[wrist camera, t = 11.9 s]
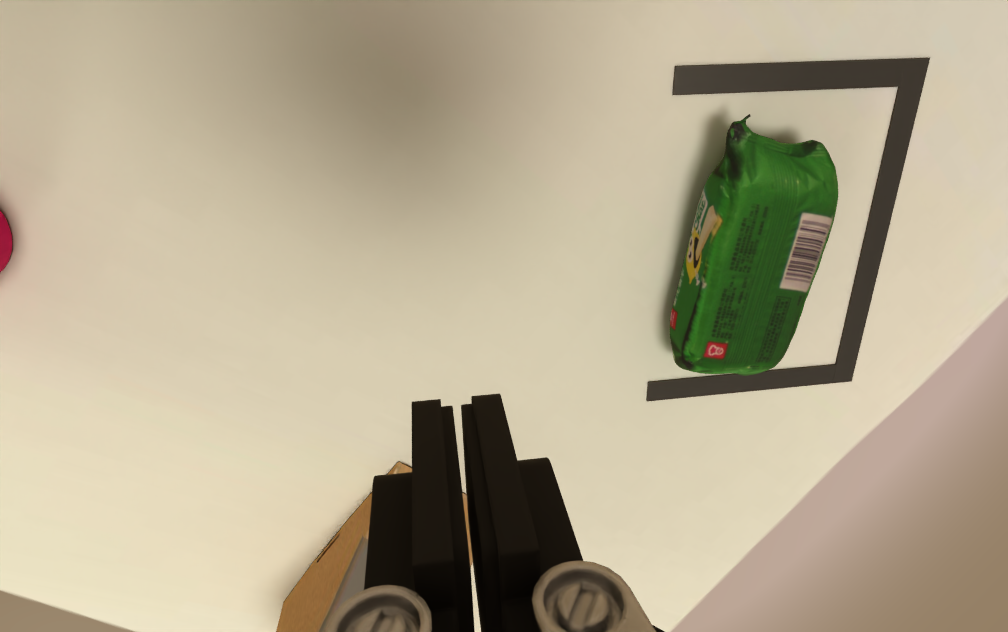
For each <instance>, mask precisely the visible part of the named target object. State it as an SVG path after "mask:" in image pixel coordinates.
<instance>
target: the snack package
mask: <svg viewBox="0 0 1008 632" xmlns="http://www.w3.org/2000/svg"><path fill="white" fill-rule="evenodd" d="M749 117H750V114H749V115H748V116H746V117H745V118H744V119H743V120H741V121H737V122H733V123H732V124H731V126H730V128H729V130H728V132H727V139H726V149H725V153H724V156H723V158H722V160H721V162H720V163H719V164H718V166H717V167H716V168H715V170H714V171H713V172H712V173H711V175H710V176H709V178H708V180H707V182H706V184H705V186H704V188H703V192H702V195H701V198H700V201H699V203H698V206H697V211H696V216H695V220H694V224H693V228H692V232H691V236H690V240H689V243H688V247H687V251H686V255H685V259H684V263H683V267H682V272H681V276H680V280H679V284H678V287H677V292H676V296H675V300H674V304H673V307H672V311H671V317H670V338H671V344H672V350H673V357H674V360H675V363H676V364H677V365H678V366H679V367H680V368H682V369H685V370H689V371H693V372H698V373H705V374H725V373H737V374H739V375H743V376H749V375H753V374H758V373H761V372H764V371H767V370H769V369H771V368H773V367H775V366H776V365H777V364H778V363H779V362H780V361H781V359H782V358H783V356H784V355H785V353H786V351H787V349H788V347H789V344H790V342H791V340H792V338H793V336H794V334H795V331H796V328H797V325H798V322H799V319H800V316H801V313H802V311H803V307H804V303H805V300H806V298H807V295H808V293H809V290H810V288H811V285H812V282H813V280H814V277H815V275H816V272H817V270H818V268H819V264H820V261H821V258H822V254H823V251H824V249H825V246H826V243H827V241H828V238H829V234H830V231H831V228H832V225H833V221H834V217H835V212H836V207H837V200H838V183H837V175H836V169H835V166H834V164H833V162H832V159H831V157H830V155H829V153H828V151H827V149H826V148H825V147H824V145H823V144H822V143H820V142H818V141H815V140H810V141H806V142H802V143H780V142H777V141H775V140H773V139H770V138H767V137H764V136H761V135H758V134H756V133H754V132H752V131H751V130H750V129H749V128H748V127H747V125H746V119H747V118H749Z"/></svg>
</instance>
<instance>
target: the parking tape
mask: <svg viewBox="0 0 1008 632" xmlns="http://www.w3.org/2000/svg"><path fill="white" fill-rule="evenodd" d="M929 60H930V58H909V59H878V60H847V61H816V62H785V63H754V64H723V65H692V66H675V72H674V84H673V95H689V94H716V93H742V92H768V91H795V90H821V89H847V88H874V87H898V92H897V96H896V101H895V105H894V109H893V114H892V118H891V123H890V127H889V131H888V136H887V140H886V145H885V149H884V153H883V158H882V162H881V167H880V171H879V175H878V180H877V184H876V189H875V193H874V197H873V202H872V206H871V211H870V215H869V219H868V224H867V228H866V233H865V237H864V241H863V246H862V250H861V255H860V259H859V263H858V268H857V272H856V277H855V281H854V285H853V290H852V294H851V298H850V303H849V307H848V312H847V316H846V320H845V325H844V329H843V334H842V338H841V342H840V347H839V351H838V356H837V360H836V364H833V365H823V366H812V367H801V368H791V369H780V370H769V371H764V372H761V373H758V374H753V375H749V376H743V375H739V374H727V375H716V376H706V377H695V378H684V379H674V380H663V381H653V382H648V390H647V401H655V400H665V399H675V398H686V397H696V396H706V395H716V394H727V393H737V392H747V391H757V390H767V389H778V388H788V387H798V386H808V385H818V384H829V383H839V382H849V381H852V377H853V373H854V369H855V364H856V360H857V356H858V352H859V348H860V344H861V340H862V336H863V331H864V327H865V323H866V319H867V315H868V311H869V307H870V303H871V299H872V294H873V290H874V286H875V282H876V278H877V274H878V270H879V266H880V261H881V257H882V253H883V249H884V245H885V241H886V237H887V233H888V229H889V224H890V220H891V216H892V212H893V208H894V204H895V200H896V196H897V191H898V187H899V183H900V179H901V175H902V171H903V167H904V163H905V159H906V154H907V150H908V146H909V142H910V138H911V134H912V130H913V126H914V121H915V117H916V113H917V109H918V105H919V101H920V97H921V93H922V88H923V84H924V80H925V76H926V72H927V68H928V64H929Z"/></svg>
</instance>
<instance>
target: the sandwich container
mask: <svg viewBox="0 0 1008 632" xmlns="http://www.w3.org/2000/svg"><path fill="white" fill-rule="evenodd" d="M407 472H412V468H410V467H408V466H406V465H404V464H402V463H400V462H398V463H397V464H396V465H395V466H394V467H393V468H392V470H391V471H390V472H389V473H388V474H397V473H407ZM388 474H387V475H388ZM462 494H463V503H464V512H465V521H466V529H467V538H468V547H469V558H470V568H471V565H472V562H473V558H472V550H471V542H470V533H469V523H468V509H467V495H465V494H464V493H462ZM371 500H372V493H371V494H370V495H369V496H368V497H367V498H366V500H365V501H364V502H363V503H362V504H361V505H360V507H359V508H358V509H357V510H356V511H355V512H354V513H353V515H352V516H351V517H350V518H349V519H348V520H347V522H346V523H345V524H344V525H343V526H342V528H341V529H340V531H339V532H338V533H337V534H336V536H335V537H334V538H333V539H332V541H331V542H330V543H329V544H328V546H327V547H326V548H325V549H324V550H323V552H322V553H321V554H320V555H319V557H318V558H317V559H315V560H314V562H313V563H312V564H311V566H310V567H309V569H308V570H307V571H306V573H305V574H304V575H303V577H302V578H301V579H300V581H299V582H298V583H297V585H296V586H295V587H294V589H293V590H292V592H291V593H290V594H289V596H288V597H287V598H286V600H285V601H284V603H283V607H282V611H281V615H280V619H279V623H278V627H277V631H276V632H325V629H326V627H327V625H328V623H329V621H330V619H331V617H332V615H333V613H334V612H335V611H336V610H337V609H338V608H339V607H340V606H341V604H342V603H343V602H344V601H346V600H347V599H349V598H350V597H352V596H353V595H355V594H356V593H358V592H361V591H363V590H364V583H365V571H366V559H367V548H368V536H369V524H370V512H371Z"/></svg>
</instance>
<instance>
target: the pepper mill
mask: <svg viewBox="0 0 1008 632" xmlns="http://www.w3.org/2000/svg"><path fill="white" fill-rule="evenodd" d="M11 252H12V234H11V231H10V228H9V225H8V223H7V220H6V218H5V217H4V215H3V214H2V212H1V211H0V272H1V271H2V270H3V269H4V268H5V266H6V265H7V263H8V262H9V259H10V255H11Z"/></svg>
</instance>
